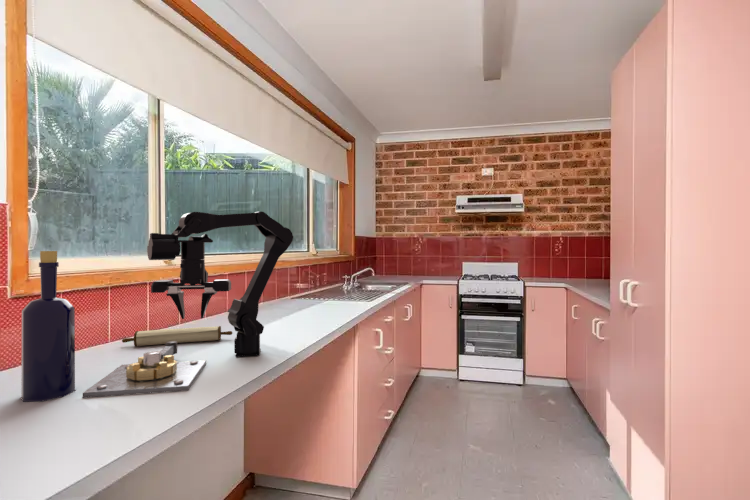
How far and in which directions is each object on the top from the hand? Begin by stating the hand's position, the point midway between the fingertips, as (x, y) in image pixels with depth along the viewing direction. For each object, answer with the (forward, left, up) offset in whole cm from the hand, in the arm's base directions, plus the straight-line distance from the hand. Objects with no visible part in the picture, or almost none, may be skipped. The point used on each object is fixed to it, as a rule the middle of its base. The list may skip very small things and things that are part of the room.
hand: (192, 318), depth 105 cm
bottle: (+25, +17, -12) cm, 32 cm away
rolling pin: (+9, -25, -12) cm, 30 cm away
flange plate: (+7, +11, -12) cm, 18 cm away
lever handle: (+7, +5, -11) cm, 13 cm away
